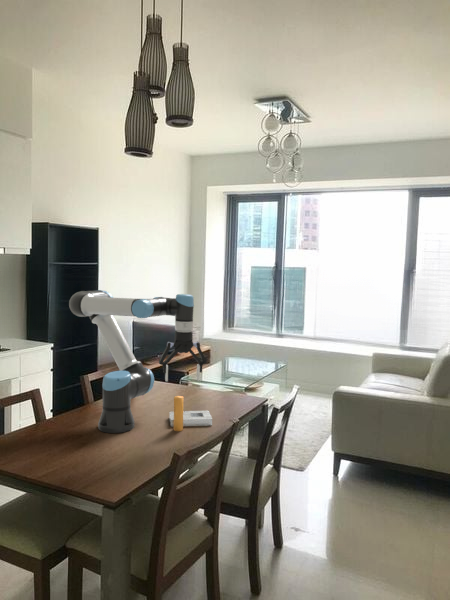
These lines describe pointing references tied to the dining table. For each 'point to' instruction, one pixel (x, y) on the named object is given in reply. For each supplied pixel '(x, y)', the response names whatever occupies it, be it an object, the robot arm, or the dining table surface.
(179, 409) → the pin
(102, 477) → the dining table surface
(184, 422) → the white peg hole block
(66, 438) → the dining table surface
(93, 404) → the dining table surface
